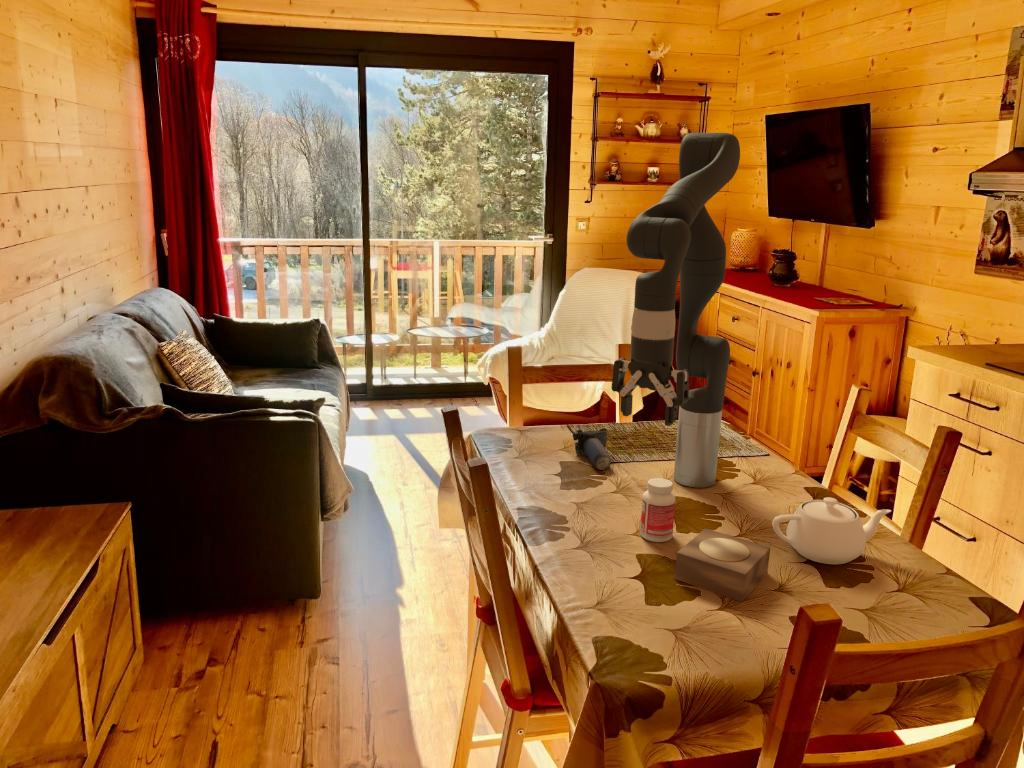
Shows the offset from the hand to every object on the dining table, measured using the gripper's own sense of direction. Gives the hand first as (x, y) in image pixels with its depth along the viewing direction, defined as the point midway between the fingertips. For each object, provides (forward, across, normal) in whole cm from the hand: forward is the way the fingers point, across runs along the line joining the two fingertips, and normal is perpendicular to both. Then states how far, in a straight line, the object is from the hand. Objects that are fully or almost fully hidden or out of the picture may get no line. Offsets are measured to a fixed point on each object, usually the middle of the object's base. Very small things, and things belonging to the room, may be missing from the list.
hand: (647, 419), depth 146 cm
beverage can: (+25, +28, -29) cm, 48 cm away
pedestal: (+24, -18, +4) cm, 30 cm away
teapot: (+24, -30, -17) cm, 42 cm away
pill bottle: (+24, -2, -3) cm, 24 cm away
